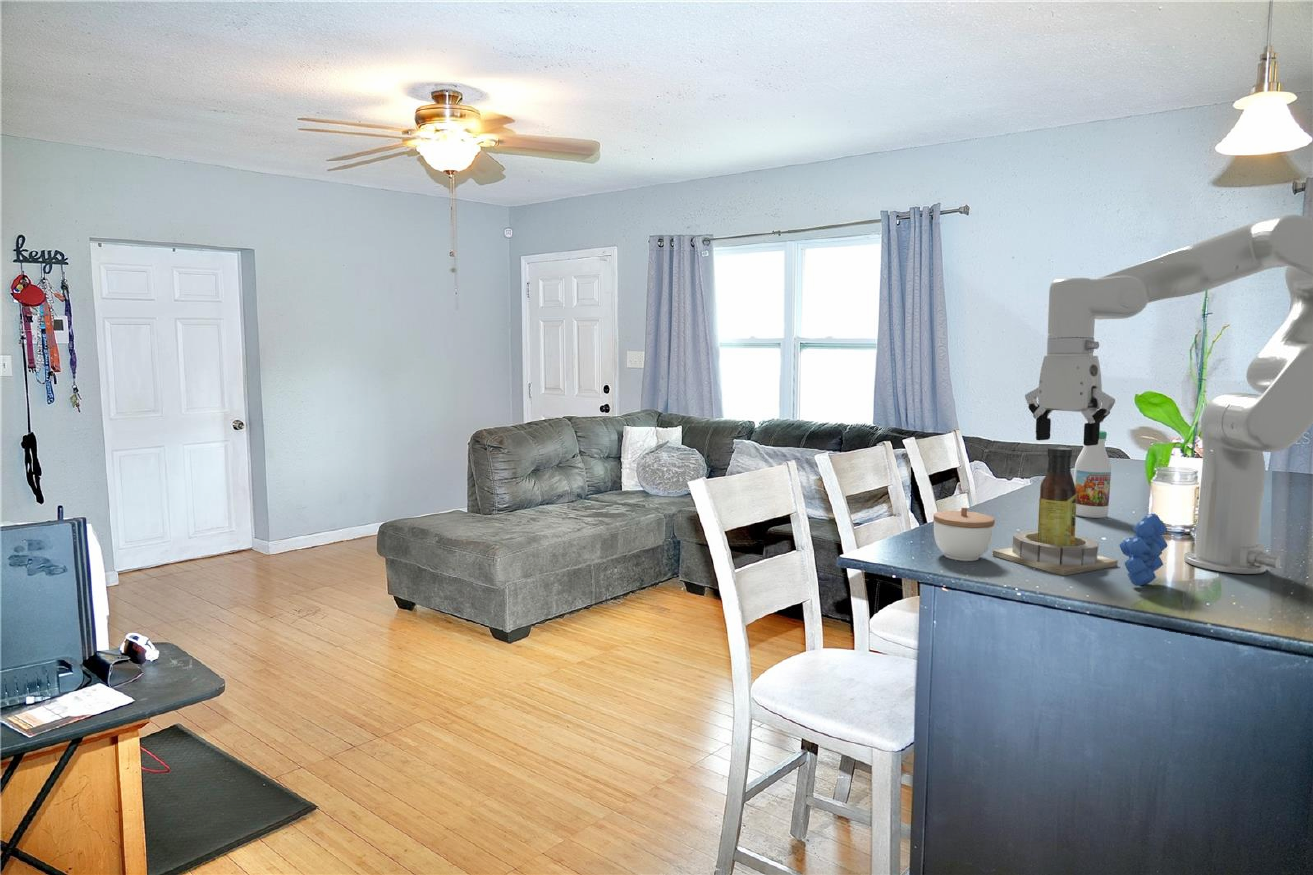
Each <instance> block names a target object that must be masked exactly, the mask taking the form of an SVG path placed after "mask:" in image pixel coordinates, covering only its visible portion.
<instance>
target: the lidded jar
mask: <svg viewBox="0 0 1313 875" xmlns="http://www.w3.org/2000/svg"><path fill="white" fill-rule="evenodd" d="M995 521H996V520H995V518H994V517H993V516H991V515H988V514H984V513H980V512H974V511H968V507H966V506H964V507H963V506H962V507H961V510H942V511H935V513H933V536H934V540H935V544H936V546H937V548H939V550H940V552H942V553H943V554H944V557H945V558H947V559H950V560H955V561H960V562H961V561H962V562H974V561H977V560H978V561H979V559H980V557H981V556H983V555H984V554H985V553H986V552H987V551H988V550H989V548H990V546H991V544H992V540H993V535H994V526H995Z"/></svg>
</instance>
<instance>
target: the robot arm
mask: <svg viewBox="0 0 1313 875" xmlns="http://www.w3.org/2000/svg"><path fill="white" fill-rule="evenodd" d="M1283 267H1285V268H1286V269H1285V273H1284V274H1285V275H1284V276H1285V277H1284V279H1285V283H1286V286H1287V290H1288V293H1289V296H1290V308H1289V311H1288V314H1287V316H1286V318H1285V319H1284V320H1283V322H1282V323H1281V325H1280V326H1279V327H1278V329H1277V330H1276V331H1275V332H1274V333H1273V335H1272V336H1271V337H1270V339H1268V340H1267V342H1266V343H1265V344H1264V346H1263V347H1262V348H1261V349H1260V351H1259V352H1258V353H1257V354H1256V355H1255V357H1253V359H1252V360H1251V362H1250V363H1249V365H1248V367H1247V369H1246V375H1245V376H1246V381H1247V383H1248V385H1249V387H1250V388H1252V389H1253V391H1256V392H1257V393H1260V394H1256V393H1254V394H1253V393H1246V392H1229V393H1224V394H1221V395H1219V396H1216V397H1214V398H1213V399H1212V400H1210V401H1209V402H1208V403H1207V404H1206V405H1205V407H1204V408H1203V411H1202V414H1201V418H1200V433H1201V434H1200V435H1201V440H1202V465H1201V466H1202V468H1201V478H1200V486H1199V488H1200V489H1199V497H1198V498H1199V499H1198V509H1197V511H1198V512H1197V519H1196V520H1197V521H1196V529H1195V530H1196V531H1195V532H1196V533H1195V540H1194V542H1195V543H1194V550H1192V551H1190V550H1189V551H1187V552H1185V553H1184V554H1183V560H1184V562H1186V563H1188V564H1190V565H1191V566H1192V565H1193V566H1195V567H1197V568H1201V569H1205V570H1210V571H1214V572H1215V571H1216V572H1222V573H1230V574H1240V575H1241V574H1242V575H1255V574H1257V575H1258V574H1262V573H1265V572H1267V567H1269V568H1274V569H1279V568H1280V567H1281V563H1282V560H1281V557H1280V555H1275V554H1269V553H1267V552H1266V551H1265V545H1263V544H1260V543H1259V540H1260V529H1261V519H1262V511H1263V510H1262V509H1263V501H1264V492H1265V490H1264V489H1265V483H1266V462H1265V456H1264V453H1277V452H1281V451H1284V450H1286V449H1288V448H1290V447H1292V446H1293V445H1294V444H1296V443H1297V442H1298V441H1299V440H1300V439H1301V438H1302V437H1303V436H1304V435H1305V433H1306V432H1307V431H1308V430H1309V429H1310V428H1311V426H1312V425H1313V218H1311V217H1308V216H1304V215H1299V214H1298V215H1297V214H1288V215H1287V214H1286V215H1283V216H1277V217H1273V218H1267V219H1262V220H1258V221H1255V222H1252V223H1248V224H1246V225H1243V226H1240V227H1237V228H1235V229H1231V230H1230V231H1226V232H1223V233H1221V234H1218V235H1215V236H1213V237H1210V238H1207V239H1205V240H1202V241H1198V242H1196V243H1193V244H1190V245H1188V246H1184V247H1182V248H1178V249H1176V250H1173V251H1170V252H1168V253H1166V254H1162V255H1161V256H1158V257H1154V258H1152V259H1150V260H1147V261H1142V262H1141V263H1137V264H1135V265H1132V266H1128V267H1126V268H1123V269H1120V270H1117V271H1115V272H1113V273H1112V272H1111V273H1109V274H1106V275H1104V276H1101V277H1099V278H1094V279H1092V278H1088V277H1067V278H1059V279H1055V280H1054V281H1052V282H1051V283H1050V286H1049V289H1048V290H1049V291H1048V293H1049V295H1048V318H1047V321H1048V322H1047V342H1046V343H1047V344H1046V346H1047V347H1046V355H1044V356H1043V360H1042V364H1041V367H1040V375H1039V379H1038V380H1039V381H1038V382H1039V383H1038V387H1037V388H1035V389H1033V390H1031V391H1029V392H1027V393H1026V394H1025V395H1024V398H1025V400H1026V403H1027V405H1028V409H1029V411H1030V412H1031V414H1032V417H1033V419H1035V440H1036V441H1048V440H1050V438H1051V427H1052V426H1051V425H1052V424H1051V423H1052V419H1051V417H1049V416H1050V415H1051V414H1052V412H1053V411H1061V412H1072V413H1073V412H1074V413H1075V412H1076V413H1080V412H1081V414H1082V415H1083V417H1084V419H1085V420H1086V421H1087V422H1085V423H1084V425H1083V446H1084V445H1085V446H1092V445H1097V444H1098V440H1099V433H1100V431H1101V429H1100V428H1101V423H1103V422H1104V420H1105V419H1106V418H1107V417H1108V416H1109V415H1110V414H1111V411H1112V408H1113V407H1114V406H1115V404H1116V399H1115V398H1114V397H1112V396H1111V395H1109V394H1108V393H1107V392H1104V391H1103V390H1102V389H1103V386H1102V372H1101V364H1100V360H1099V356H1098V355H1094V353H1095V352H1094V351H1095V350H1098V349H1099V348H1100V343H1099V341H1095V338H1094V337H1095V322H1096V320H1099V321H1100V320H1121V319H1122V320H1123V319H1129V318H1131V317H1134V316H1136V315H1138V314H1140V313H1141V312H1142V311H1143V310H1144V309H1145V308H1146V307H1147V305H1149V303H1152V302H1153V303H1154V302H1156V301H1161V300H1165V299H1173V298H1180V297H1181V298H1182V297H1187V296H1192V295H1194V294H1195V295H1196V294H1199V293H1203V292H1207V291H1209V290H1212V289H1215V288H1217V287H1220V286H1224V285H1226V284H1228V283H1232V282H1234V281H1237V280H1239V279H1242V278H1245V277H1249V276H1251V275H1254V274H1255V275H1256V274H1257V273H1260V272H1263V271H1265V270H1269V269H1274V268H1275V269H1276V268H1283ZM1261 394H1262V395H1261ZM1263 452H1264V453H1263Z"/></svg>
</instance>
